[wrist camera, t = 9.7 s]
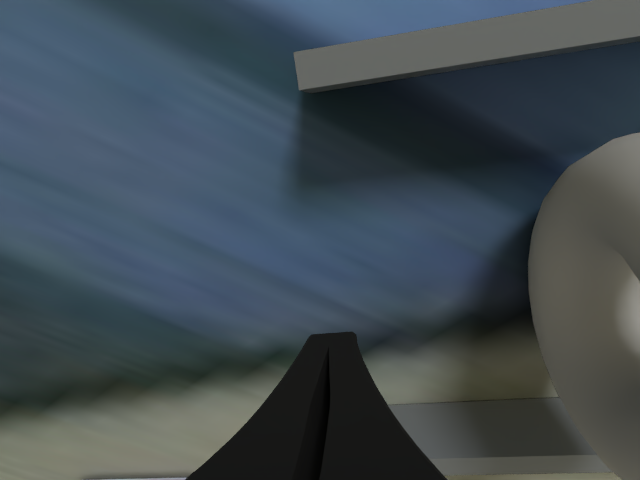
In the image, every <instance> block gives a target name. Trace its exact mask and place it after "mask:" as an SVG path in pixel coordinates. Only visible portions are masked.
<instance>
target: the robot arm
mask: <svg viewBox="0 0 640 480" xmlns="http://www.w3.org/2000/svg"><path fill="white" fill-rule="evenodd" d="M91 480H447V479H446V478H445V477H444V475H443V474H442V473H441V472H440V471H439V470H438V469H437V468H436V466H435V465H434V464H433V463H432V462H431V461H430V460H429V458H428V457H427V456H426V455H425V454H424V453H423V452H422V451H421V449H420V448H419V447H418V446H417V445H416V443H415V442H414V441H413V440H412V438H411V437H410V436H409V434H408V433H407V432H406V431H405V429H404V428H403V427H402V425H401V424H400V422H399V421H398V420H397V418H396V417H395V415H394V414H393V412H392V411H391V409H390V408H389V406H388V405H387V403H386V402H385V400H384V398H383V397H382V395H381V393H380V392H379V390H378V388H377V387H376V385H375V383H374V381H373V379H372V377H371V375H370V373H369V371H368V369H367V367H366V365H365V363H364V361H363V358H362V356H361V353H360V350H359V347H358V344H357V337H356V334H355V333H353V332H341V333H326V334H312V335H311V336H310V337H309V338H308V339H307V341H306V343H305V345H304V346H303V348H302V350H301V351H300V353H299V354H298V356H297V358H296V359H295V361H294V362H293V364H292V365H291V367H290V368H289V370H288V371H287V372H286V374H285V375H284V377H283V378H282V380H281V381H280V382H279V384H278V385H277V386H276V388H275V389H274V390H273V392H272V393H271V394H270V395H269V397H268V398H267V399H266V400H265V402H264V403H263V404H262V405H261V407H260V408H259V409H258V410H257V411H256V413H255V414H254V415H253V416H252V417H251V418H250V419H249V420H248V422H247V423H246V424H245V425H244V426H243V427H242V428H241V429H240V430H239V431H238V432H237V433H236V434H235V435H234V436H233V437H232V438H231V439H230V440H229V441H228V442H227V443H226V444H225V445H224V446H223V447H222V448H221V449H219V450H218V451H217V452H216V453H215V454H214V455H213V456H212V457H211V458H210V459H209V460H208V461H206V462H205V463H204V464H203V465H202V466H201V467H200V468H198V469H197V470H196V471H195V472H193V473H192V474H191V475H190V476H189V477H186V478H138V479H91Z"/></svg>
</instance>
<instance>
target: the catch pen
mask: <svg viewBox="0 0 640 480" xmlns="http://www.w3.org/2000/svg"><path fill="white" fill-rule="evenodd" d="M634 42H640V0H593V1H587V2H582V3H576V4H570V5H564V6H559V7H553V8H547V9H541V10H535V11H530V12H524V13H518V14H512V15H506V16H501V17H495V18H489V19H483V20H478V21H472V22H466V23H460V24H454V25H449V26H443V27H437V28H431V29H426V30H420V31H414V32H408V33H402V34H397V35H391V36H385V37H379V38H373V39H368V40H362V41H356V42H350V43H345V44H339V45H333V46H327V47H321V48H316V49H310V50H304V51H298V52H294V59H295V66H296V72H297V79H298V86H299V90H300V91H304V92H307V93H316V92H322V91H328V90H335V89H341V88H347V87H354V86H360V85H366V84H373V83H379V82H385V81H392V80H398V79H405V78H411V77H417V76H424V75H430V74H436V73H443V72H449V71H455V70H462V69H468V68H475V67H481V66H487V65H494V64H500V63H506V62H513V61H519V60H525V59H532V58H538V57H544V56H551V55H557V54H564V53H570V52H576V51H583V50H589V49H595V48H602V47H608V46H614V45H621V44H627V43H634ZM388 406H389V408H390V409H391V411H392V412H393V414H394V415H395V417H396V418H397V420H398V421H399V422H400V424H401V425H402V427H403V428H404V429H405V431H406V432H407V433H408V434H409V436H410V437H411V438H412V440H413V441H414V442H415V443H416V445H417V446H418V447H419V448H420V449H421V451H422V452H423V453H424V454H425V455H426V456H427V457H428V458H429V460H430V461H431V462H432V463H433V464H434V465H435V466H436V468H437V469H438V470H439V471H440V472H441V473H442V474H443V475H444V476H445V475H495V474H546V473H596V472H613V471H612V470H610V469H609V468H608V467H607V466H606V465H605V464H604V463H603V461H602V460H601V459H600V458H599V456H598V455H597V454H596V452H595V451H594V450H593V449H592V447H591V446H590V445H589V443H588V442H587V441H586V439H585V438H584V437H583V436H582V434H581V433H580V432H579V430H578V429H577V427H576V425H575V424H574V422H573V420H572V419H571V417H570V415H569V413H568V411H567V410H566V408H565V406H564V404H563V402H562V401H561V399H560V398H538V399H515V400H493V401H471V402H448V403H426V404H404V405H388Z"/></svg>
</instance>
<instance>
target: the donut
mask: <svg viewBox="0 0 640 480" xmlns="http://www.w3.org/2000/svg"><path fill="white" fill-rule="evenodd" d="M528 283H529V298H530V304H531V311H532V318H533V324H534V328H535V332H536V335H537V339H538V343H539V346H540V350H541V354H542V357H543V360H544V362H545V365H546V367H547V370H548V372H549V375H550V377H551V380H552V382H553V385H554V387H555V390H556V392H557V393H558V395H559V397H560V399H561V401H562V402H563V404H564V406H565V408H566V410H567V411H568V413H569V415H570V417H571V419H572V420H573V422H574V424H575V425H576V427H577V429H578V430H579V432H580V433H581V434H582V436H583V437H584V438H585V439H586V441H587V442H588V443H589V445H590V446H591V447H592V449H593V450H594V451H595V452H596V454H597V455H598V456H599V458H600V459H601V460H602V461H603V463H604V464H605V465H606V466H607V467H608V468H609V469H610V470H612V471H613V472H614V473H615V474H616V475H618V476H619V477H620V478H621V479H622V480H640V133H633V134H630V135H626V136H622V137H619V138H615V139H612V140H611V141H609V142H607V143H606V144H604V145H602V146H601V147H599V148H598V149H596V150H594V151H593V152H591V153H589V154H588V155H586V156H584V157H583V158H581V159H580V160H578V161H576V162H575V163H573V164H571V165H570V166H568V168H567V169H566V170H565V171H564V172H563V174H562V175H561V176H560V177H559V178H558V180H557V181H556V183H555V184H554V185H553V187H552V188H551V190H550V191H549V192H548V194H547V195H546V197H545V198H544V199H543V201H542V204H541V207H540V210H539V213H538V216H537V219H536V222H535V224H534V227H533V232H532V236H531V244H530V252H529V259H528Z"/></svg>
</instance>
